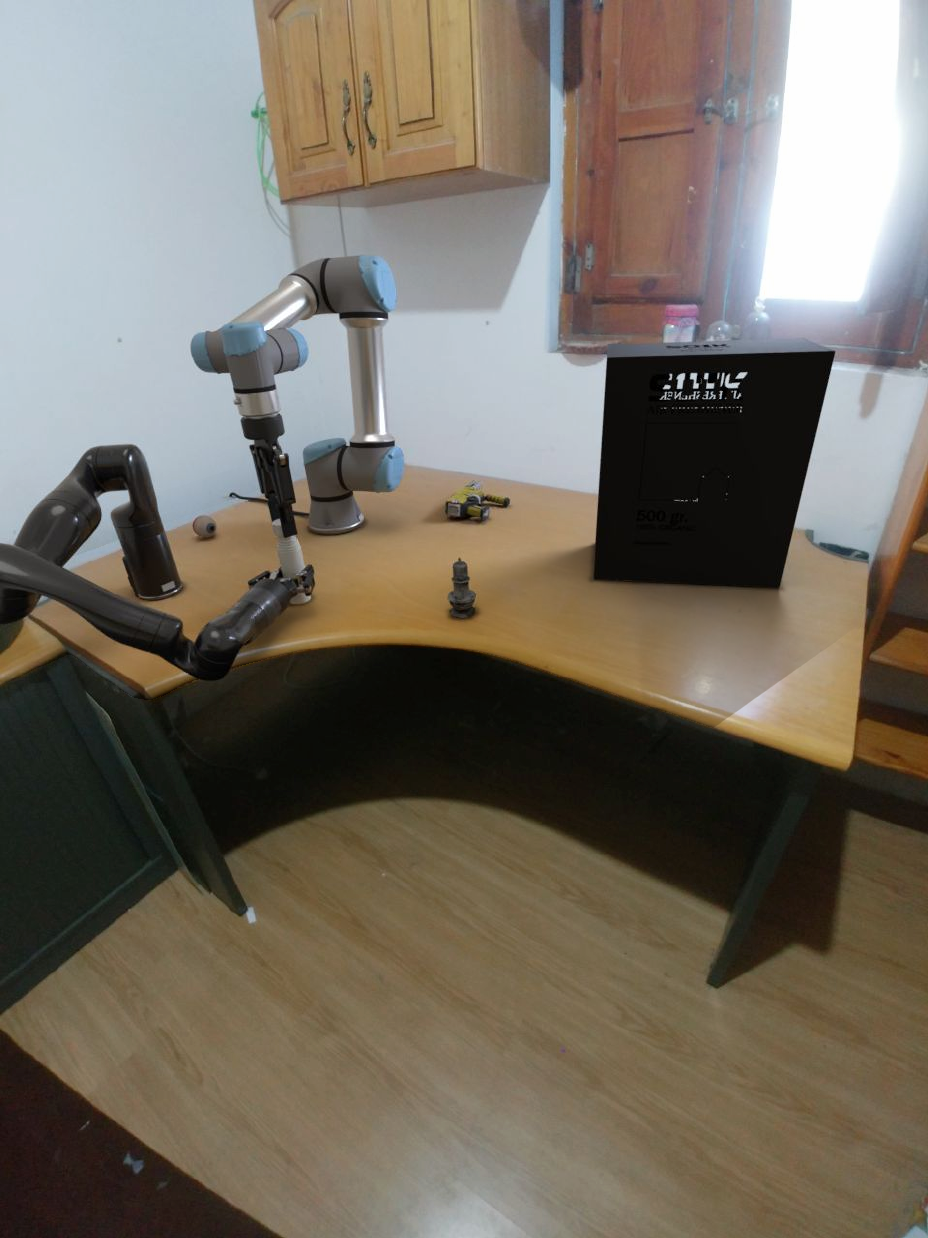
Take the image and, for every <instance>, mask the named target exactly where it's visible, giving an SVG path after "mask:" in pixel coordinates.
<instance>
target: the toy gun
mask: <svg viewBox="0 0 928 1238" xmlns="http://www.w3.org/2000/svg"><path fill="white" fill-rule="evenodd" d="M485 501H486V502H488V503H492V504H496V505H497V504H498V505H502V506H504V507H508V506H509V505H510V504H511V498H510V497H507V496H506V497H505V496H504V497H503V496H499V495H496V494H492V493H487V494H486V495H485V494H484V491H483V482H481V481H479V480H478V481H477V480H472V481H471V482H469V484H467V485H465V486H464V487H462V488H461V489H460V490H459V491H458V492H456V493H455V494H454V495H453V496H451V497H450V498H448V500H447V501H445V502H444V514H445V515H446V516H449V518H454V519H456V518H465V517H469V516H473V517H476V518H479V521H485V520H487V519H488V518H489V517H490V508H491V506H490V505H485V506H484V505H483V504H482V503H483V502H485Z"/></svg>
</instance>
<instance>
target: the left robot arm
mask: <svg viewBox="0 0 928 1238" xmlns="http://www.w3.org/2000/svg"><path fill="white" fill-rule="evenodd" d="M152 480H153V479H152V476H151V473H150V469H149V465H148V461H147V459H146V456H145V455H144V452H143V451H142V449H141V448H139V446H137V445H135V444H133V443H120V444H105V445H98V446H97V445H96V446H93V447H90V448H89V449H87V450H86V451H85V452H84V453H83V454H82V455H81V457H80V459H79V460H77V463H76V464H75V465H74V467H73V468H72V469H71V471H70V472H69V473H68V475H66V477H64V479H63V480H62V481H61V482H60V483H59V484H58V485H56V487H55V488H53V490H51V491H50V492H49V493H47V494H46V496H44V498H43V499H41V500H40V501H39V502H38V503H37V504H36V505H35V506H34V508H33V509H32V510H31V511H30V513H29V514H28V515H27V518H26V519H25V521H24V522H23V523H22V526H21V528H20V530H19V532H18V534H17V536H16V539H15V540H14V543H13V544H10V543H3V542H0V626H3V625H10V624H13V623H17V622H19V621H21V620H23V619H24V618H27V617H28V616H29V615H30V614H31V613H32V612H33V611H34V610H35V609H36V607H37V606H38V603H39V602H40V600H41V598H42V596H43V597H45V598H48V599H51V600H53V601H55V602H57V603H59V604H61V605H63V606H65V607H67V608H68V609H70V610H71V611H73V612H75V613H76V614H77V615H78V616H80V617H81V618H82V619H84V620H85V621H86V622H87V623H88V624H90V626H92V627H93V628H95V629H96V630H97V631H99V632H100V633H101V634H103V635H104V636H106V637H107V638H108V639H110V640H112V641H114V642H116V643H118V644H120V645H123V646H126V647H130V648H132V649H135V650H138V651H142V652H145V653H148V654H151V655H154V656H157V657H158V658H161V659H163V660H164V661H165V662H167V663H169V664H170V665H172V666H173V667H174V668H177V669H179V670H180V671H182V672H183V673H185V674H187V675H189V676H190V677H192V678H195V679H198V680H201V681H206V682H213V681H219V680H222V679H224V678H226V677H227V675H228V674H229V673H230V671H231V669H232V667H233V665H234V662H235V661H236V659H237V657H238V655H239V653H240V651H241V649H242V648H243V647H245V646H249V645H250V644H252V643H254V641H255V640H256V639H257V638H259V637H260V635H262V633H263V632H264V631H265V630H266V629H268V628H269V627H270V626H271V625H273V624H274V622H275V621H277V619H278V618H279V617H280V616H281V615H282V614H283V613H284V612H285V611H286V609H287V608H288V607H289V605H290V604H291V603H290V600H291V598H292V597H294V596H296V595H297V594H298V593H305V595H306V596H310V595H311V596H312V594H313V591H314V589H315V587H316V581H315V567H314V566H313V564H311V563H308V564H307V565H306V566H305V568H304V569H303V570H302V572H300V573H298V574H292V575H290V576H289V577H287V578H283V574H282V569H281V566H280V567H279V568H277V569H274V570H272V571H270V570H265V571H263V572H261V573H259V574H258V575H256V576H254V577H252V578H251V579H249V580H248V581H247V584H248V588H249V590H247V591H246V592H245V593H244V594H242V596H241V597H240V598H239V599H238V600H237V602H235V604H234V605H232V607H231V608H230V609H228V610H227V611H226V612H225V613H223V614H221V615H218V616H217V617H215V618H213V619H211V620H210V621H208V622H207V623H206V624H205V625H204V626H203V627H202V628H201V629H200V631H199V632H198V634H197V636H196V639H195V641H193V640H191V639H190V638H189V637H187V635H185V634H184V623H183V620H182V619H181V618H179V617H177V616H176V615H172V614H170V613H167V612H165V611H162V610H159V609H156V608H153V607H150V606H147V605H144V604H142V603H140V602H139V603H138V602H136V601H133V600H131V599H128V598H125V597H123V596H120V595H118V594H116V593H114V592H113V591H110V590H108V589H106V588H104V587H102V586H100V585H98V584H97V583H94V582H92V581H90V580H89V579H86V578H85V577H83V576H81V575H79V574H77V573H75V572H73V571H71V570H69V569H67V568H65V567H64V566H65V565H66V564H67V563H68V562H69V561H70V560H71V559H72V558H73V557H74V556H75V554H76V553H77V552H78V550H79V549H80V548H81V547H82V546H83V545H84V544H85V543H86V542H87V541H88V540H89V539H90V538H91V537H92V535H93V534H94V532H95V531H96V530H97V529H98V528H99V526H100V523H102V518H103V513H102V507H101V505H100V502H99V499H98V498H99V497H100V496H101V495H103V494H106V493H110V492H127V493H128V497H129V500H128V501H127V502H124V503H122V504H120V505H118V506H116V507H114V508H113V509H112V510H111V511H110V514H109V515H110V520H111V522H112V525H113V527H114V531H115V533H116V536H117V539H118V541H119V544H120V547H121V549H122V553H123V556H122V557H121V561H122V564H123V566H124V569H125V571H126V574H127V580H128V583H129V585H130V588H132V591H133V594H134V596H135V597H139V599H140V600H144V601H157V600H162V599H163V600H164V599H166V598H169V597H172V596H174V595H176V594H178V593H180V591H182V589H183V587H184V585H183V582H182V580H181V577H180V574H179V570H178V567H177V564H176V561H175V558H174V555H173V551H172V548H171V546H170V545H171V544H170V543H169V539H168V536H167V533H166V530H165V527H164V524H163V521H162V517H161V515H160V512H159V507H158V500H157V495H156V491H155V488H154V484H153V481H152ZM301 577H302V581H301V580H300V579H301Z"/></svg>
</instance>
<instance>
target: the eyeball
mask: <svg viewBox="0 0 928 1238" xmlns="http://www.w3.org/2000/svg"><path fill="white" fill-rule="evenodd" d="M192 529H193V532H194V533H195V534H196V535H197V536H198V537H201V538H210V537H212V536H214V535H215V533H216V531H217V523H216V521H215V520H214V519H213V518H212V517H211V516H208V515H204V514H203V515H199V516H197V517H196V518H195V519H194V520H193V521H192Z"/></svg>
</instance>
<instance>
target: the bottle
mask: <svg viewBox="0 0 928 1238" xmlns="http://www.w3.org/2000/svg"><path fill="white" fill-rule="evenodd" d="M296 536H297V535H294V536H291V537H287V538H284V536H277V547H276V550H277V555H278V559H279V565H280V567H281V569H282V574H283V578H287V577H289V576H290V575H292V574H298V573H300V572H302V570H303V569H304V568H305V567H306V566H305V561H304V557H303V551H302V546H301V543H299V540H298V538H297V537H296ZM300 580H301V581H302V577H301V579H300ZM311 598H312V594H311V595H310V596H306V595H305V593H298V594H297V595H296V596H294V597H292V598H291V600H290V603H289V604H291V605H303V604H306V603H308V602H309V601H311Z"/></svg>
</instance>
